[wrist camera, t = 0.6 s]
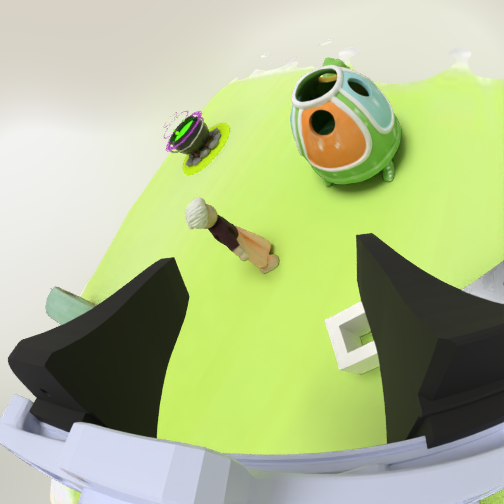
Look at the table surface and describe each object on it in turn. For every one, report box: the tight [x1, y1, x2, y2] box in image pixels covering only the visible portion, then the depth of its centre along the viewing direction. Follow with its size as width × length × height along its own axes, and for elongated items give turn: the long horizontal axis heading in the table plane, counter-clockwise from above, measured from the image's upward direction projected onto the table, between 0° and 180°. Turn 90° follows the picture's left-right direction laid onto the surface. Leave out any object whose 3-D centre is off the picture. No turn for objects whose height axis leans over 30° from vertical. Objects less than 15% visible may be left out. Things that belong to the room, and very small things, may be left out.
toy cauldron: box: [164, 111, 230, 175], centre depth 61 cm, size 15×15×11 cm
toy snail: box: [46, 287, 95, 325], centre depth 63 cm, size 25×8×14 cm, turn 67°
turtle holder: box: [290, 58, 401, 186], centre depth 32 cm, size 12×18×12 cm
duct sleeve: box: [324, 301, 380, 374], centre depth 22 cm, size 6×4×5 cm
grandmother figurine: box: [185, 197, 279, 273], centre depth 34 cm, size 8×4×13 cm, turn 42°
